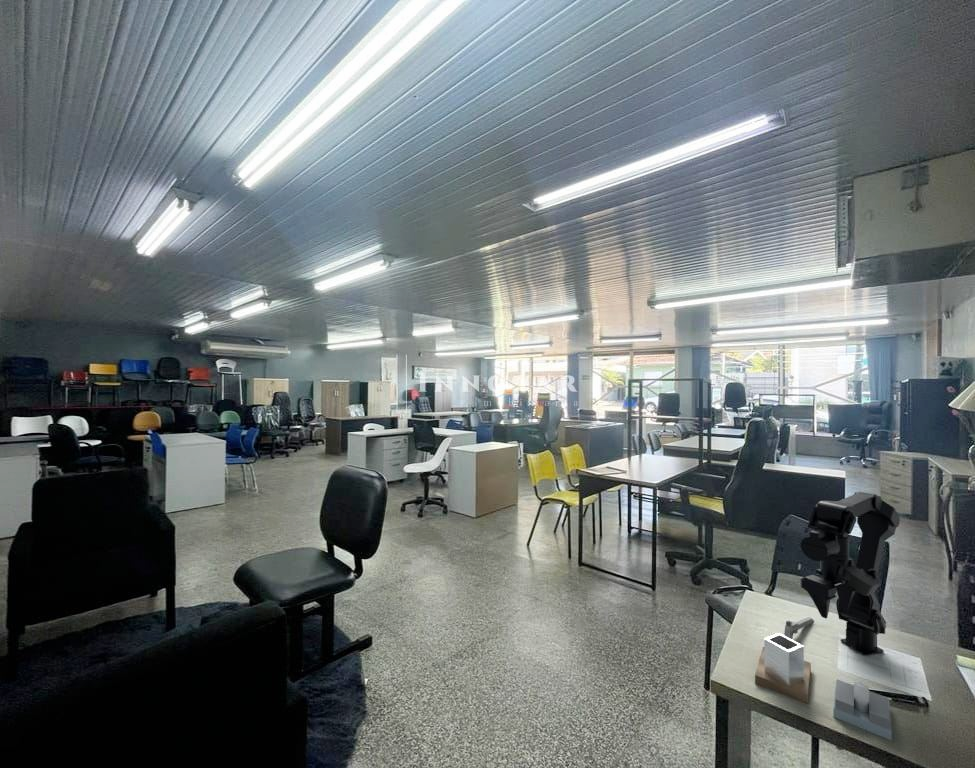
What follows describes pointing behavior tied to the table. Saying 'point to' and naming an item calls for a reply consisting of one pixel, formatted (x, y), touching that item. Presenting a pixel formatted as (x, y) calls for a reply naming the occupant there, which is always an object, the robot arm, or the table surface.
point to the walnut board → (794, 691)
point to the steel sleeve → (784, 659)
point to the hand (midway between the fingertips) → (834, 613)
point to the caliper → (796, 626)
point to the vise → (862, 708)
